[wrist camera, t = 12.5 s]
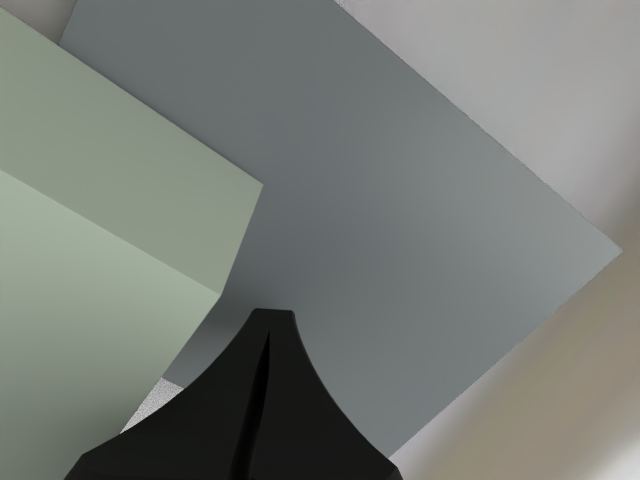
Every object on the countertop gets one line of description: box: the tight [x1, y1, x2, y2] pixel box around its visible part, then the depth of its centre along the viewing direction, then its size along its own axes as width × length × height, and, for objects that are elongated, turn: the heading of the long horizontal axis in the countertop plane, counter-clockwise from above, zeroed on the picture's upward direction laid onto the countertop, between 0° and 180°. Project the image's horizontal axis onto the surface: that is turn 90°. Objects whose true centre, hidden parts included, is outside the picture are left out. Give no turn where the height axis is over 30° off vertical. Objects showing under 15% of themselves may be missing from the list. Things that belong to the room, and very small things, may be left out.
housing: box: [0, 7, 264, 480], centre depth 9 cm, size 8×7×6 cm
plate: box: [58, 0, 623, 459], centre depth 13 cm, size 16×13×1 cm
